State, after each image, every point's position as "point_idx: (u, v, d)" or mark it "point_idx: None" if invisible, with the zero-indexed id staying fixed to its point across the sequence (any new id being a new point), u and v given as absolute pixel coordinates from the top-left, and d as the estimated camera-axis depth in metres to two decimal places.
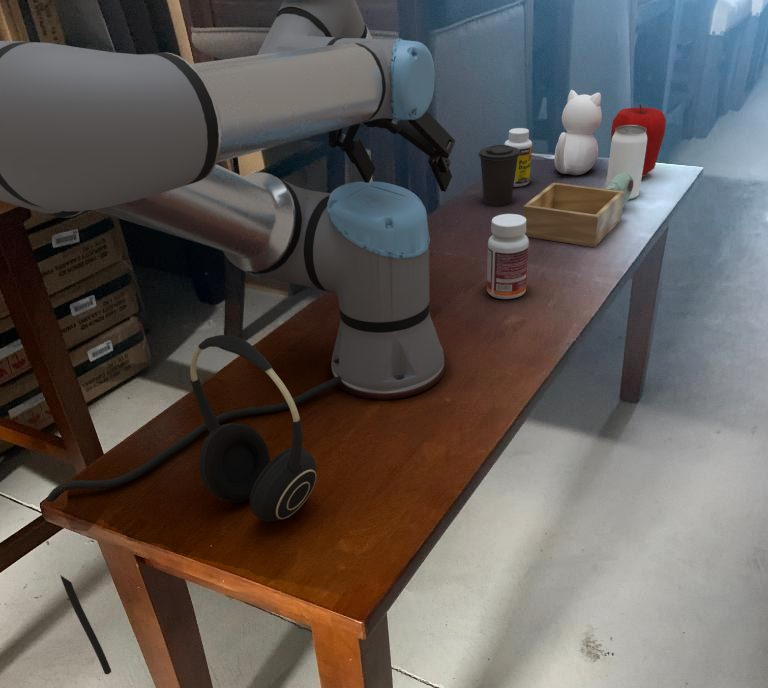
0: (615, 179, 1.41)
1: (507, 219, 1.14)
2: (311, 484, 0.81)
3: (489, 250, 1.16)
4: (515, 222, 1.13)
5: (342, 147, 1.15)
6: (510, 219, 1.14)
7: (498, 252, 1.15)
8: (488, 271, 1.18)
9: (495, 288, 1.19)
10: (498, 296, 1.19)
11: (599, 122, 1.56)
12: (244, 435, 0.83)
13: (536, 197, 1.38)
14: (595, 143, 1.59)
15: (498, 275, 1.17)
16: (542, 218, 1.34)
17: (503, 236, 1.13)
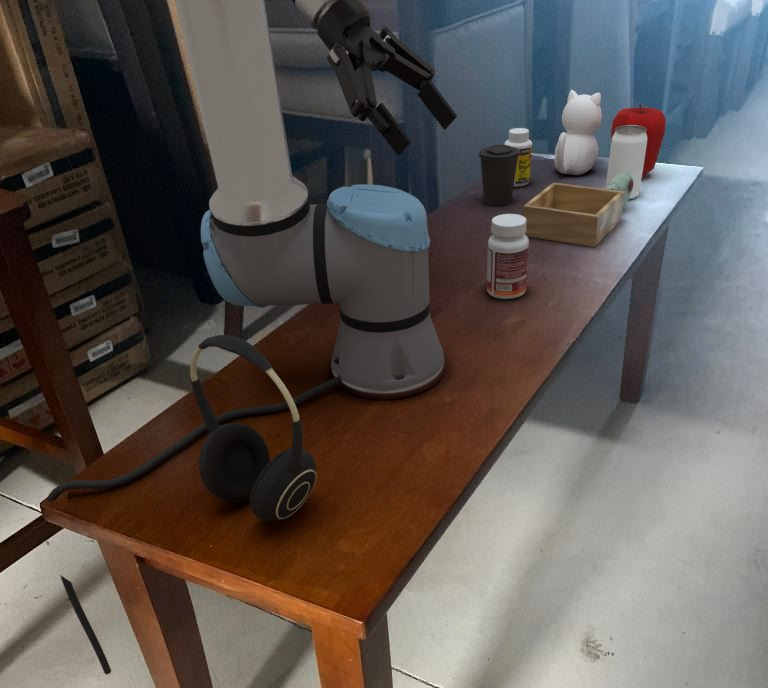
0: (615, 179, 1.41)
1: (507, 219, 1.14)
2: (311, 484, 0.81)
3: (489, 250, 1.16)
4: (515, 222, 1.13)
5: (371, 99, 1.06)
6: (510, 219, 1.14)
7: (498, 252, 1.15)
8: (488, 271, 1.18)
9: (495, 288, 1.19)
10: (498, 296, 1.19)
11: (599, 122, 1.56)
12: (244, 435, 0.83)
13: (536, 197, 1.38)
14: (595, 143, 1.59)
15: (498, 275, 1.17)
16: (542, 218, 1.34)
17: (503, 236, 1.13)
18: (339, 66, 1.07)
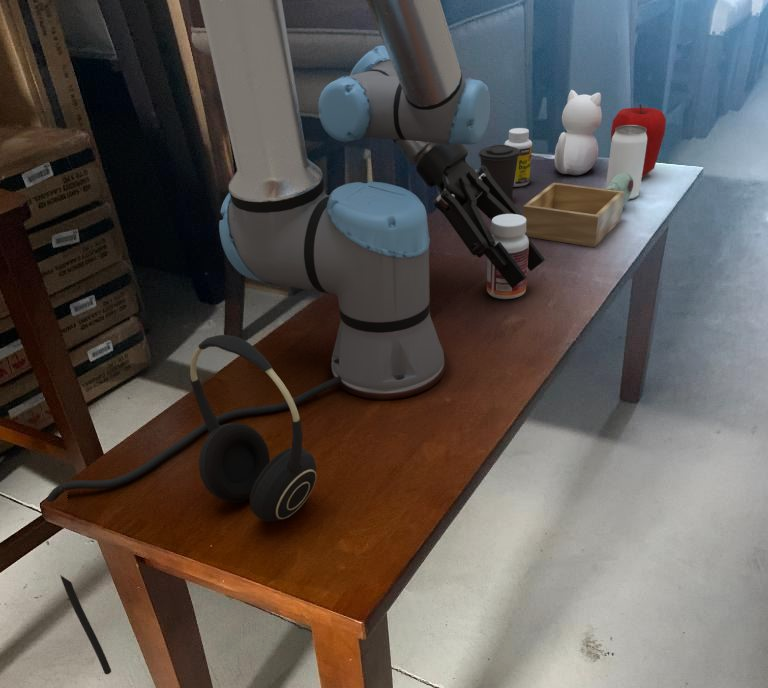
0: (615, 179, 1.41)
1: (507, 219, 1.14)
2: (311, 484, 0.81)
3: None
4: (515, 222, 1.13)
5: (490, 240, 1.13)
6: (510, 219, 1.14)
7: None
8: (488, 271, 1.18)
9: (494, 288, 1.19)
10: (498, 296, 1.19)
11: (599, 122, 1.56)
12: (244, 435, 0.83)
13: (536, 197, 1.38)
14: (595, 143, 1.59)
15: (498, 275, 1.17)
16: (542, 218, 1.34)
17: (503, 236, 1.13)
18: (450, 211, 1.11)
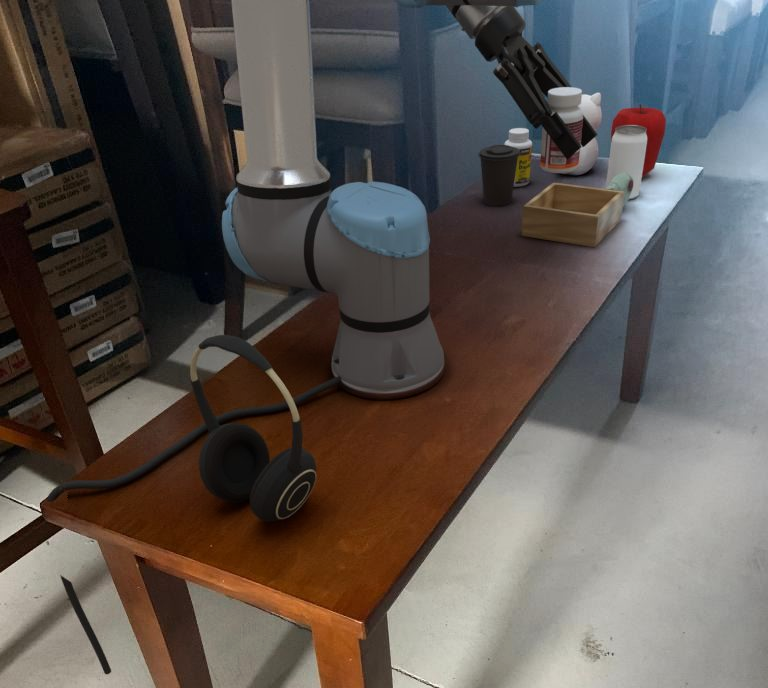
0: (615, 179, 1.41)
1: (563, 90, 1.18)
2: (311, 484, 0.81)
3: None
4: (571, 92, 1.17)
5: (547, 109, 1.17)
6: (565, 90, 1.18)
7: None
8: (542, 145, 1.22)
9: (549, 162, 1.23)
10: (552, 170, 1.23)
11: (599, 122, 1.56)
12: (244, 435, 0.83)
13: (536, 197, 1.38)
14: (595, 143, 1.59)
15: (552, 148, 1.21)
16: (542, 218, 1.34)
17: (559, 106, 1.17)
18: (509, 80, 1.15)
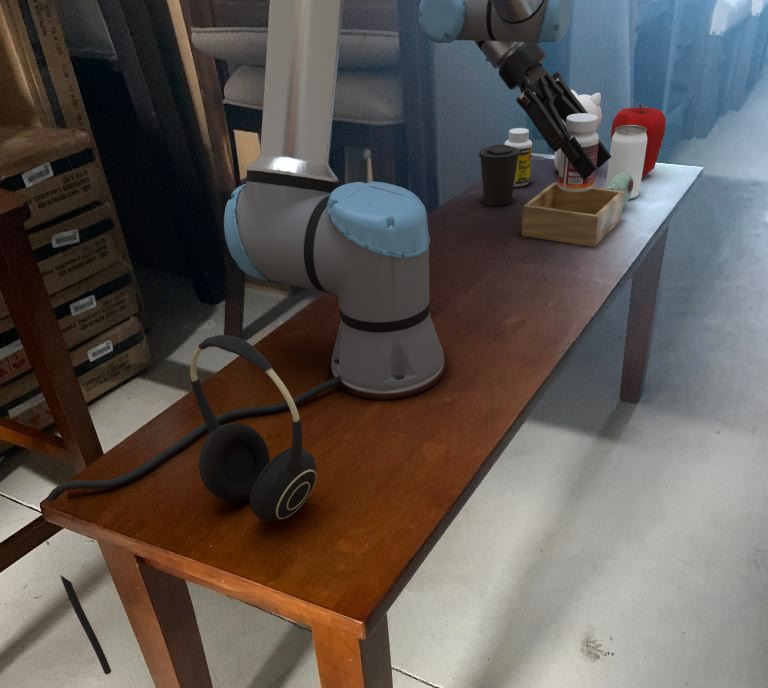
0: (615, 179, 1.41)
1: (580, 116, 1.28)
2: (311, 484, 0.81)
3: None
4: (588, 118, 1.27)
5: (566, 134, 1.26)
6: (582, 116, 1.28)
7: None
8: (561, 166, 1.32)
9: (566, 182, 1.32)
10: (569, 189, 1.33)
11: (599, 122, 1.56)
12: (244, 435, 0.83)
13: (536, 197, 1.38)
14: None
15: (570, 169, 1.31)
16: (542, 218, 1.34)
17: (577, 131, 1.27)
18: (531, 107, 1.25)
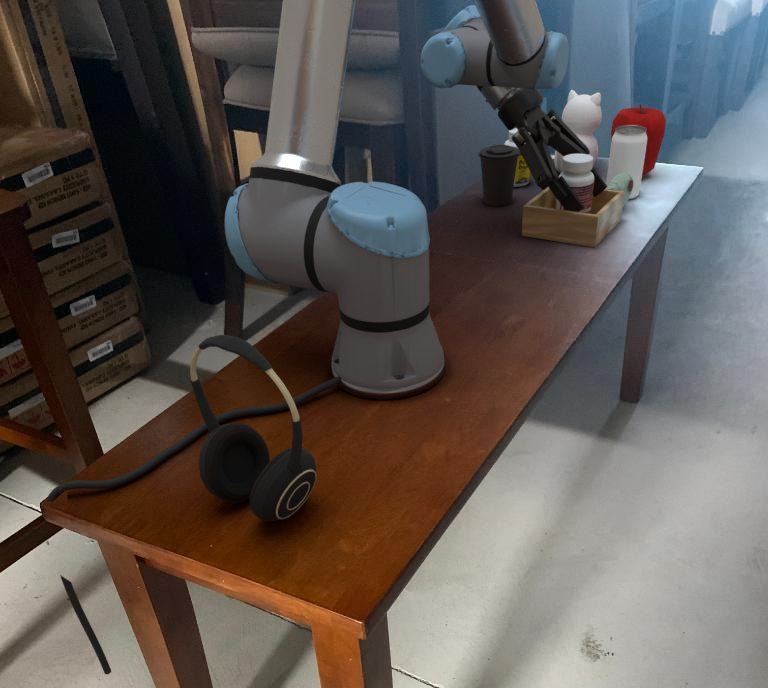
0: (615, 179, 1.41)
1: (576, 157, 1.32)
2: (311, 484, 0.81)
3: None
4: (583, 159, 1.31)
5: (554, 173, 1.29)
6: (578, 157, 1.32)
7: None
8: (557, 204, 1.36)
9: None
10: None
11: (599, 122, 1.56)
12: (244, 435, 0.83)
13: (536, 197, 1.38)
14: (595, 143, 1.59)
15: None
16: (542, 218, 1.34)
17: (573, 171, 1.31)
18: (524, 146, 1.29)
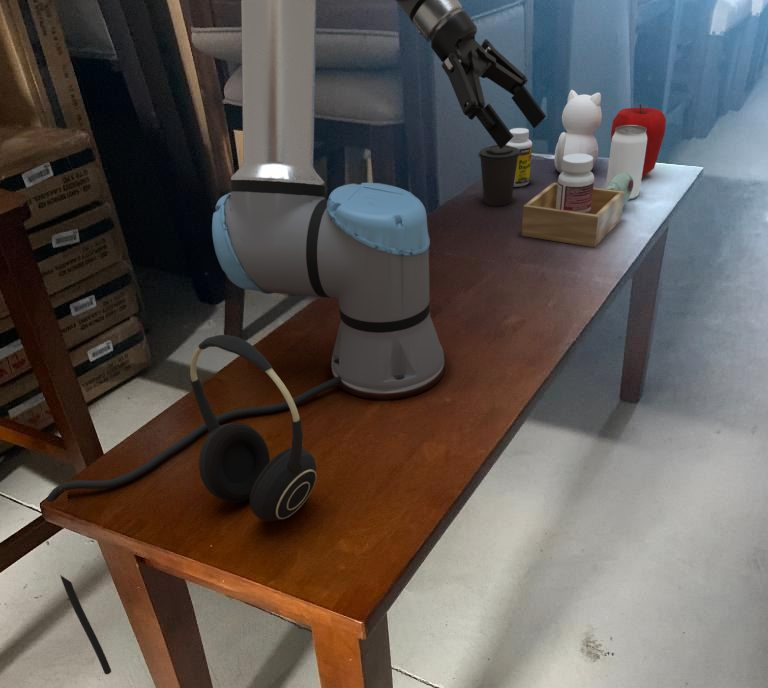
0: (615, 179, 1.41)
1: (576, 157, 1.32)
2: (311, 484, 0.81)
3: (559, 185, 1.34)
4: (583, 159, 1.31)
5: (481, 100, 1.25)
6: (578, 157, 1.32)
7: (568, 186, 1.33)
8: (557, 204, 1.36)
9: None
10: None
11: (599, 122, 1.56)
12: (244, 435, 0.83)
13: (536, 197, 1.38)
14: (595, 143, 1.59)
15: (566, 207, 1.35)
16: (542, 218, 1.34)
17: (573, 171, 1.31)
18: (453, 72, 1.25)
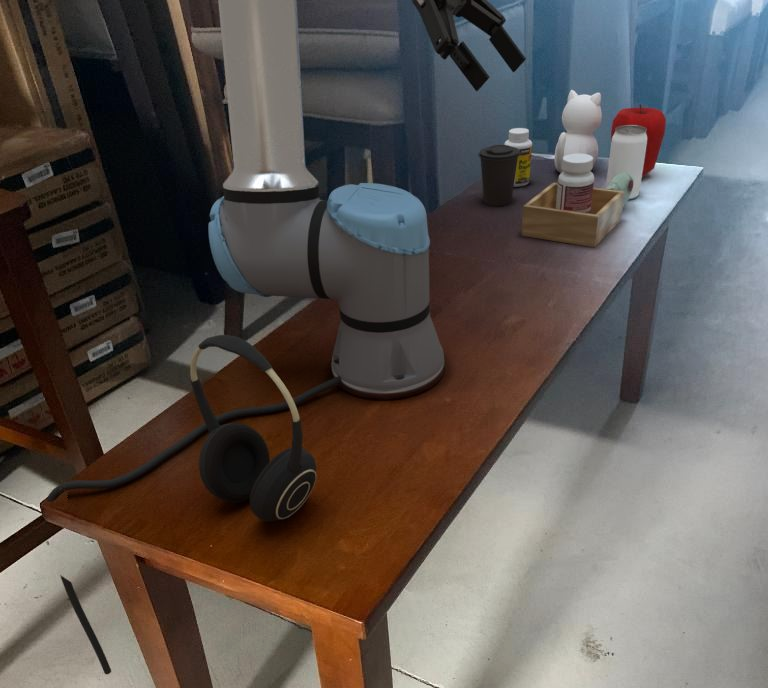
0: (615, 179, 1.41)
1: (576, 157, 1.32)
2: (311, 484, 0.81)
3: (559, 185, 1.34)
4: (583, 159, 1.31)
5: (454, 37, 1.16)
6: (578, 157, 1.32)
7: (568, 186, 1.33)
8: (557, 204, 1.36)
9: None
10: None
11: (599, 122, 1.56)
12: (244, 435, 0.83)
13: (536, 197, 1.38)
14: (595, 143, 1.59)
15: (566, 207, 1.35)
16: (542, 218, 1.34)
17: (573, 171, 1.31)
18: (424, 8, 1.16)
